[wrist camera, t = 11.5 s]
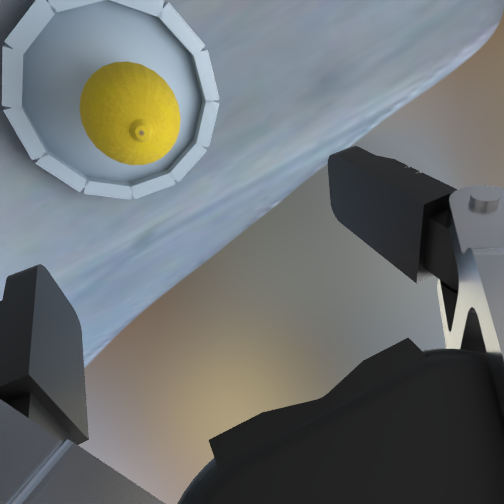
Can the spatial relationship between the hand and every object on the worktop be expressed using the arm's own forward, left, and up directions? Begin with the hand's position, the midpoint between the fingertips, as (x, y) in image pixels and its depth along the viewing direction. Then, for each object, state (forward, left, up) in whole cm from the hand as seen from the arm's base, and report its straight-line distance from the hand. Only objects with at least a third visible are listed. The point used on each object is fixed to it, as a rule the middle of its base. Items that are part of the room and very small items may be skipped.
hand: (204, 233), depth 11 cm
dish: (0, 0, -20) cm, 20 cm away
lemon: (0, 0, -20) cm, 20 cm away
